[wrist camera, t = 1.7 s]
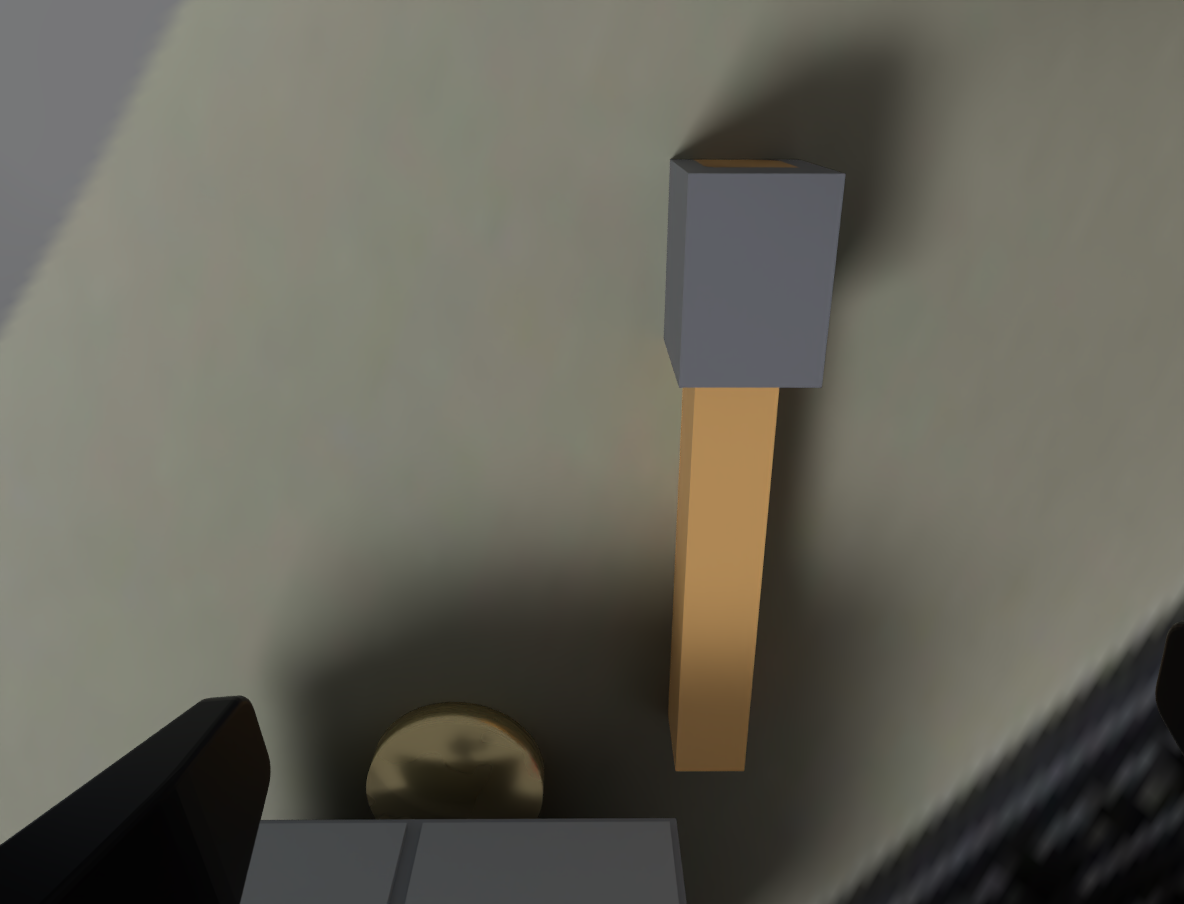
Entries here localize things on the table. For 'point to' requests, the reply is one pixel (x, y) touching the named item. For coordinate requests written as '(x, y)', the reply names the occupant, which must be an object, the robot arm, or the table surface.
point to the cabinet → (466, 862)
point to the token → (456, 766)
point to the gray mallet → (735, 412)
